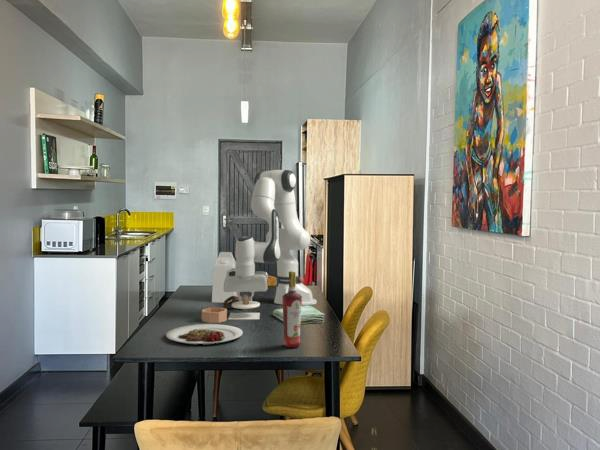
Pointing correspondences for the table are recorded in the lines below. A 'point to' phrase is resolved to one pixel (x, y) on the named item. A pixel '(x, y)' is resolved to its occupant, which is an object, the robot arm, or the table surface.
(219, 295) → the milk
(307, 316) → the towel
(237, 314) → the mat
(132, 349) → the table surface
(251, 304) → the lid
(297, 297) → the liquor
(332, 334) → the table surface
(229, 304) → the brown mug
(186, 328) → the plated food
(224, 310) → the bowl
